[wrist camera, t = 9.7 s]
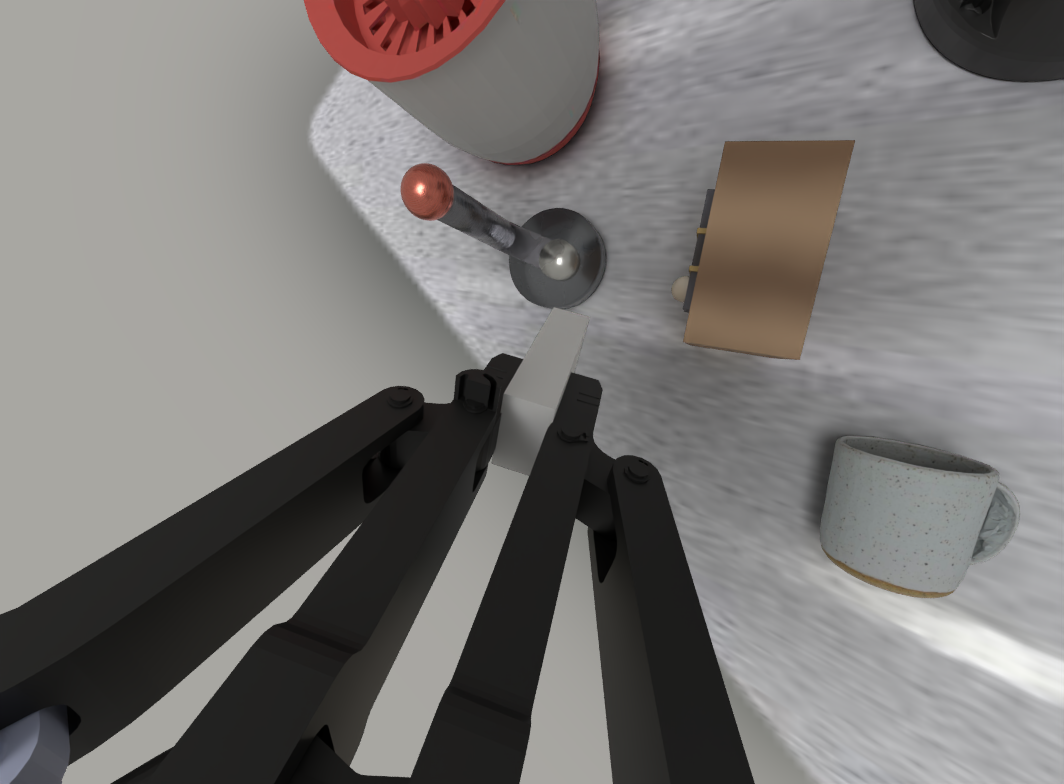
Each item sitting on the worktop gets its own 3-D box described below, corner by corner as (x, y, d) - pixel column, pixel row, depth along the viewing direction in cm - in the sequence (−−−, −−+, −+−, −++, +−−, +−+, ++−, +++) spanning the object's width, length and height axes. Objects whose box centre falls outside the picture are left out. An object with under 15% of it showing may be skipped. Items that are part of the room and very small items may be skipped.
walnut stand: (700, 200, 33) (696, 141, 24) (811, 204, 31) (855, 140, 21) (671, 342, 35) (656, 337, 26) (774, 358, 32) (799, 359, 23)
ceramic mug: (804, 536, 32) (833, 587, 25) (823, 429, 31) (858, 452, 24) (988, 574, 29) (1083, 648, 21) (1016, 455, 28) (1125, 490, 20)
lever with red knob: (622, 234, 35) (564, 157, 22) (580, 324, 37) (502, 306, 23) (521, 194, 38) (413, 104, 25) (487, 279, 40) (369, 239, 27)
